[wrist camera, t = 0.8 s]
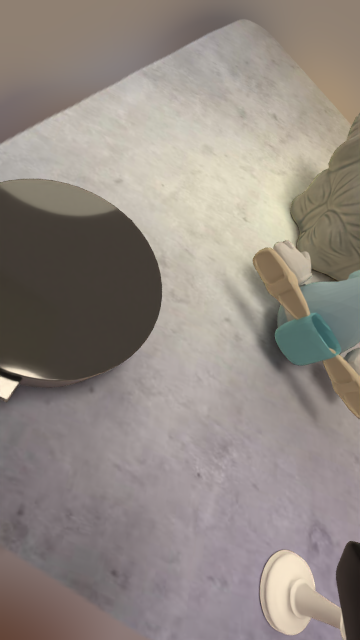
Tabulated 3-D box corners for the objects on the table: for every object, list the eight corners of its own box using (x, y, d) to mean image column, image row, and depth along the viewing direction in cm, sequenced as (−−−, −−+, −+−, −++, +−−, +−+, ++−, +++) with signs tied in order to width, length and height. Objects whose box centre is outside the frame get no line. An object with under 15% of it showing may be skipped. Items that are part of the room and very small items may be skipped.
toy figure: (355, 369, 36) (541, 332, 24) (312, 429, 30) (528, 423, 18) (273, 246, 36) (414, 145, 24) (214, 283, 30) (361, 173, 18)
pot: (76, 441, 20) (95, 442, 16) (-129, 340, 17) (-170, 309, 13) (165, 278, 28) (193, 250, 24) (31, 186, 25) (37, 134, 20)
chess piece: (248, 606, 22) (394, 706, 14) (276, 535, 25) (412, 584, 17) (294, 647, 23) (461, 766, 15) (316, 574, 26) (468, 639, 17)
